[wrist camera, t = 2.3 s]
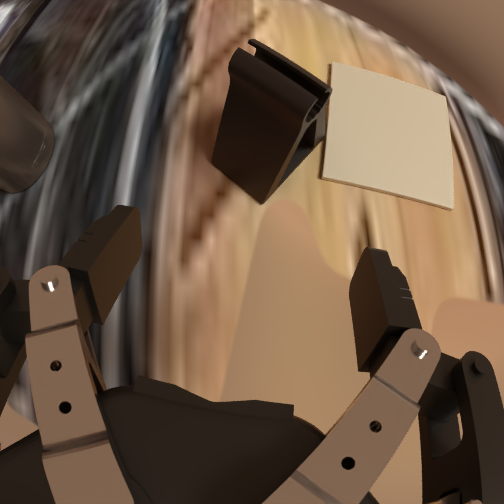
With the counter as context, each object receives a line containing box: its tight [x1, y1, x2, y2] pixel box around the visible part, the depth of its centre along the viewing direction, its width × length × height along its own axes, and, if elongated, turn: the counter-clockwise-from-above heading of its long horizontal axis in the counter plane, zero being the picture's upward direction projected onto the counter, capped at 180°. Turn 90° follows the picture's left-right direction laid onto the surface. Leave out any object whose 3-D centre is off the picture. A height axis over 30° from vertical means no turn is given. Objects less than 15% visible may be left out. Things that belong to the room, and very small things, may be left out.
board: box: [321, 61, 454, 211], centre depth 29 cm, size 14×14×1 cm
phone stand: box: [211, 39, 332, 204], centre depth 23 cm, size 9×6×12 cm, turn 138°
